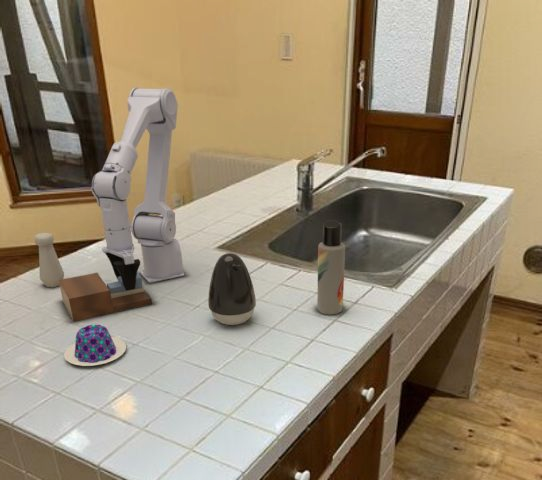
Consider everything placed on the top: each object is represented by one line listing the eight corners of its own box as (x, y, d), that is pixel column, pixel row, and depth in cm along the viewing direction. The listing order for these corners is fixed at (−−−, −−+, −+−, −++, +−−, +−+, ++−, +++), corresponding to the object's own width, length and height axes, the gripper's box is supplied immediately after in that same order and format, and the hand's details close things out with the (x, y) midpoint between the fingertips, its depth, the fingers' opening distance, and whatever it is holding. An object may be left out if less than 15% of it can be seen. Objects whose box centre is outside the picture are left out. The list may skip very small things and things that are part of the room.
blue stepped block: (140, 286, 146) (138, 272, 144) (144, 291, 143) (142, 277, 141) (106, 293, 143) (104, 279, 141) (110, 298, 140) (108, 284, 138)
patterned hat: (65, 344, 125) (60, 321, 122) (124, 335, 127) (120, 313, 125) (64, 373, 115) (59, 349, 112) (129, 363, 117) (125, 339, 115)
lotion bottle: (345, 305, 137) (348, 219, 127) (339, 316, 133) (342, 227, 123) (320, 302, 139) (322, 217, 129) (314, 313, 134) (315, 225, 124)
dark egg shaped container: (221, 335, 127) (216, 266, 119) (202, 316, 135) (197, 250, 127) (265, 324, 130) (262, 257, 123) (244, 306, 138) (241, 242, 131)
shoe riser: (137, 286, 150) (134, 265, 147) (152, 304, 141) (149, 282, 138) (63, 301, 143) (58, 280, 140) (73, 321, 134) (68, 298, 131)
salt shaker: (58, 289, 149) (47, 238, 143) (37, 288, 150) (25, 237, 144) (69, 280, 154) (59, 230, 148) (49, 279, 155) (38, 229, 149)
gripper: (91, 221, 139) (101, 276, 146) (107, 239, 128) (117, 298, 135) (121, 216, 142) (129, 271, 149) (139, 233, 131) (147, 291, 137)
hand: (125, 283), depth 142 cm, fingers open, 7 cm apart
